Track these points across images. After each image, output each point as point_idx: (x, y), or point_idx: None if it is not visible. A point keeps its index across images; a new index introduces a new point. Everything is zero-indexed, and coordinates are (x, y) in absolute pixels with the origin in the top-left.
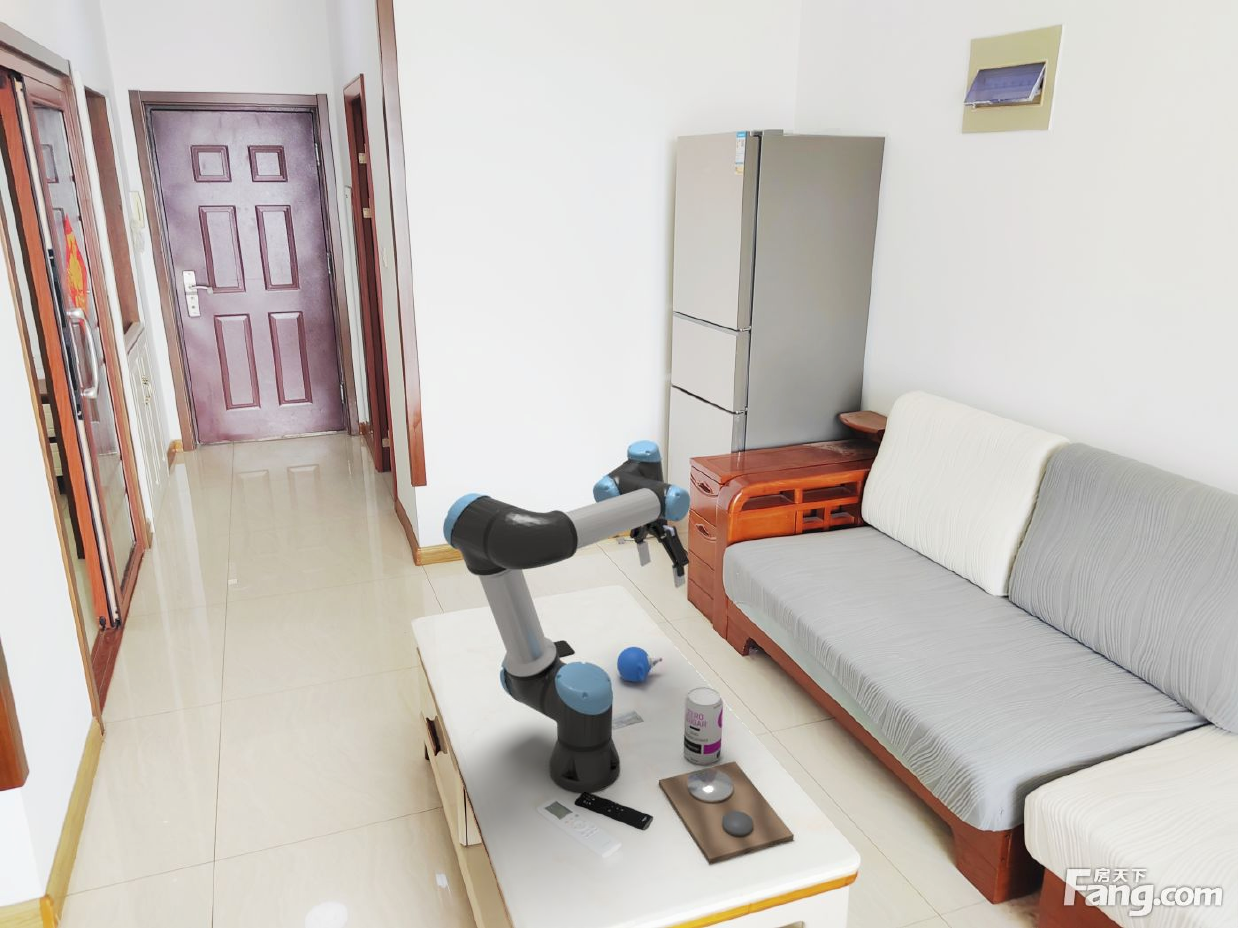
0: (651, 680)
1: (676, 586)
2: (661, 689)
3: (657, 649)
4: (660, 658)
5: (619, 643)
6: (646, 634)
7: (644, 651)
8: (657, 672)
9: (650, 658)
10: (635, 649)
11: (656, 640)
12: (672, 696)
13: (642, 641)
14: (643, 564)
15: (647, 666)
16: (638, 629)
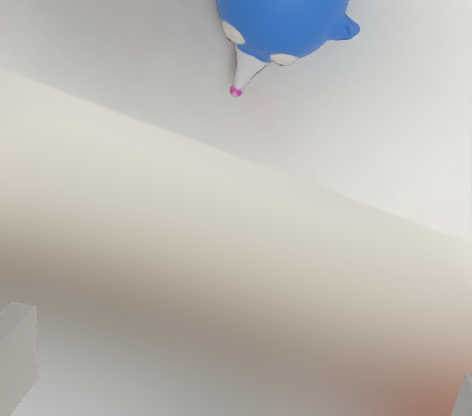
0: None
1: (9, 309)
2: (170, 9)
3: (343, 168)
4: (233, 89)
5: (466, 111)
6: (425, 204)
7: (258, 38)
8: None
9: (231, 40)
10: (279, 4)
11: (378, 200)
12: (118, 6)
13: (410, 169)
14: (467, 395)
15: (217, 4)
16: (463, 208)
